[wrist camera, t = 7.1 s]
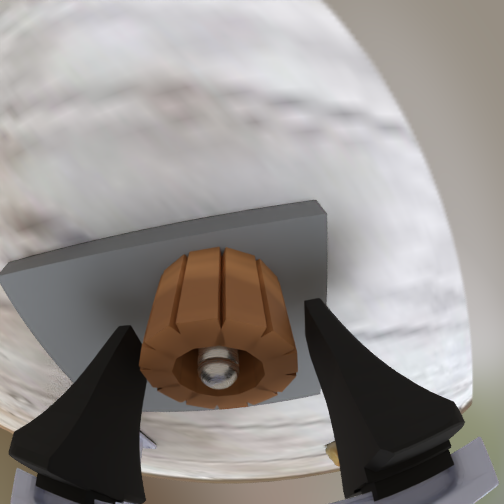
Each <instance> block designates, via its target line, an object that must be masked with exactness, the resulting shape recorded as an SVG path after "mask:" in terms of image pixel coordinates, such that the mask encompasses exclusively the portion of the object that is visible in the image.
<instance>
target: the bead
mask: <svg viewBox="0 0 504 504" xmlns="http://www.w3.org/2000/svg"><path fill="white" fill-rule="evenodd" d="M213 346H224V347H229V348H234V349H238V357H239V375H238V378H237V380H236V381H235V382H234V383H233V384H232V385H231V386H229V387H228V388H225V389H213V388H210V387H208V386H206V385H205V384H204V383H203V382H202V381H201V379H200V378H199V375H198V371H197V367H198V350H199V348H204V347H213ZM139 366H140V367H141V368H140V371H141V372H142V374H143V375H144V376H145V378H146V379H147V380H148V382H149V383H150V384H151V386H152V387H153V388H157V391H158V392H160V393H162V394H164V395H166V396H168V397H170V398H172V399H174V400H176V401H178V402H180V403H181V402H184V401H186V405H191V406H197V407H202V408H209V409H215V407H216V406H217V405H218V407H219V409H231V408H240V407H248V403H250V404H252V405H255V404H258V403H260V402H263V401H265V400H267V399H270V398H272V397H274V396H277V395H278V393H277V392H283V390H284V389H285V388H286V387H287V386H288V385H289V384H290V383H291V382H292V380H293V379H294V378H295V377H296V372H298V357H297V349H296V345H295V341H294V337H293V333H292V329H291V325H290V321H289V317H288V314H287V310H286V306H285V302H284V298H283V294H282V290H281V286H280V283H279V281H278V278H277V276H276V275H275V274H274V273H273V272H272V271H271V270H270V269H269V268H268V267H267V266H266V265H265V264H264V263H263V261H262V260H261V259H258V260H257V261H256V260H255V256H254V255H251V254H248V253H244V252H241V251H238V250H234V249H231V248H228V247H226V248H225V250H224V253H223V255H221V251H220V247H214V248H208V249H202V250H197V251H191V252H189V256H188V257H187V256H186V255H182V256H181V257H180V258H179V259H177V260H176V261H175V262H174V263H173V264H171V265H170V266H169V267H168V268H167V269H165V270H164V273H163V275H161V278H160V281H159V285H158V288H157V292H156V295H155V298H154V302H153V305H152V309H151V313H150V316H149V320H148V324H147V328H146V331H145V335H144V339H143V343H142V348H141V354H140V361H139Z"/></svg>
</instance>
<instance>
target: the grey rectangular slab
mask: <svg viewBox="0 0 504 504" xmlns="http://www.w3.org/2000/svg"><path fill="white" fill-rule="evenodd" d="M214 247H220V251H221V255H223V253H224V250H225V248H226V247H228V248H231V249H234V250H238V251H241V252H244V253H248V254H251V255H254V256H255V260H256V261H257V260H258V259H261V260H262V261H263V263H264V264H265V265H266V266H267V267H268V268H269V269H270V270H271V271H272V272H273V273H274V274H275V275H276V276H277V278H278V281H279V283H280V286H281V290H282V294H283V298H284V302H285V306H286V310H287V314H288V317H289V321H290V325H291V329H292V333H293V337H294V341H295V345H296V349H297V357H298V372H296V377H295V378H294V379H293V380H292V382H291V383H290V384H289V385H288V386H287V387H286V388H285V389H284V390H283V392H277V393H278V395H277V396H274V397H272V398H270V399H267V400H265V401H263V402H260V403H258V404H255V405H263V404H269V403H276V402H282V401H288V400H293V399H298V398H304V397H308V396H313V395H318V394H320V390H321V386H320V383H319V380H318V378H317V375H316V372H315V369H314V366H313V364H312V361H311V358H310V354H309V350H308V346H307V341H306V337H305V314H304V301H305V300H310V299H316V298H320V299H322V301H323V302H324V303H325V304H326V299H327V213H326V212H325V211H324V209H323V208H322V207H321V206H320V204H319V203H318V202H317V201H316V200H313V201H306V202H299V203H292V204H285V205H279V206H272V207H266V208H260V209H253V210H247V211H241V212H235V213H230V214H224V215H218V216H213V217H207V218H202V219H196V220H191V221H186V222H180V223H175V224H170V225H165V226H160V227H155V228H150V229H145V230H141V231H136V232H131V233H127V234H122V235H117V236H113V237H109V238H104V239H100V240H95V241H91V242H87V243H83V244H78V245H74V246H70V247H66V248H62V249H58V250H54V251H50V252H46V253H43V254H39V255H35V256H31V257H28V258H24V259H20V260H17V261H13V262H9V263H8V264H7V265H6V266H5V267H4V268H3V270H2V271H1V272H0V284H1V286H2V288H3V289H4V291H5V293H6V294H7V296H8V298H9V299H10V301H11V303H12V304H13V306H14V307H15V309H16V310H17V312H18V313H19V315H20V316H21V318H22V319H23V321H24V322H25V324H26V325H27V327H28V328H29V329H30V331H31V332H32V333H33V335H34V336H35V338H36V339H37V340H38V341H39V343H40V344H41V345H42V347H43V348H44V349H45V350H46V352H47V353H48V354H49V355H50V357H51V358H52V359H53V360H54V361H55V363H56V364H57V365H58V366H59V367H60V368H61V370H62V371H63V372H64V373H65V374H66V375H67V376H68V377H69V378H70V380H71V381H72V382H73V383H74V382H75V381H76V380H77V379H78V378H79V376H80V375H81V374H82V373H83V371H84V370H85V369H86V368H87V367H88V365H89V364H90V363H91V362H92V360H93V359H94V358H95V356H96V355H97V354H98V352H99V351H100V350H101V348H102V347H103V346H104V344H105V343H106V342H107V340H108V339H109V338H110V336H111V335H112V334H113V333H114V331H115V330H116V329H117V328H118V327H119V326H124V325H131V326H132V328H133V329H134V331H135V333H136V335H137V336H138V338H139V340H140V341H141V343H143V339H144V335H145V331H146V328H147V324H148V320H149V316H150V313H151V309H152V305H153V302H154V298H155V295H156V292H157V288H158V285H159V281H160V278H161V275H163V273H164V270H165V269H167V268H168V267H169V266H170V265H171V264H173V263H174V262H175V261H176V260H177V259H179V258H180V257H181V256H182V255H186V256H187V257H188V256H189V252H191V251H197V250H202V249H208V248H214ZM255 405H252V404H250V403H248V406H255ZM217 409H219V407H218V405H217V406H216V407H215V409H209V408H202V407H197V406H191V405H186V401H184V402H181V403H180V402H178V401H176V400H174V399H172V398H170V397H168V396H166V395H164V394H162V393H160V392H158V391H157V388H153V387H152V386H151V384H150V383H149V382H148V380H147V384H146V390H145V396H144V401H143V407H142V411H144V412H179V411H203V410H217Z"/></svg>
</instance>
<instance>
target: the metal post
mask: <svg viewBox="0 0 504 504" xmlns="http://www.w3.org/2000/svg"><path fill="white" fill-rule="evenodd" d="M197 371H198V375H199V378H200V379H201V381H202V382H203V383H204V384H205V385H206V386H208V387H210V388H213V389H225V388H228V387H229V386H231V385H232V384H233V383H234V382H235V381H236V380H237V378H238V375H239V357H238V349H234V348H229V347H224V346H213V347H204V348H199V350H198V367H197Z"/></svg>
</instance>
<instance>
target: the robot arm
mask: <svg viewBox="0 0 504 504" xmlns="http://www.w3.org/2000/svg"><path fill="white" fill-rule="evenodd" d="M304 314H305V337H306V341H307V346H308V350H309V354H310V358H311V361H312V364H313V366H314V369H315V372H316V375H317V378H318V380H319V383H320V386H321V389H322V392H323V394H324V397H325V400H326V403H327V407H328V410H329V415H330V419H331V423H332V428H333V433H334V438H335V443H336V448H337V453H338V459H339V464H340V471H341V477H342V484H343V492H344V495H345V500H341V501H338V502H334V503H329V504H474V503H475V502H477V501H478V500H479V499H481V498H482V497H483V496H485V495H486V494H487V493H489V492H490V491H491V490H493V489H494V488H495V487H496V486H498V484H499V482H498V479H497V476H496V473H495V471H494V468H493V465H492V463H491V460H490V458H489V455H488V453H487V450H486V448H485V445H484V443H483V441H482V439H481V437H478V438H476V439H475V440H473V441H471V442H470V443H468V444H467V445H465V446H464V447H462V448H460V449H459V450H457V451H455V452H454V453H452V454H450V452H449V450H448V449H450V448H451V444H450V441H449V439H450V438H451V437H452V436H453V435H454V434H456V433H457V432H458V431H459V430H460V429H461V428H462V427H463V425H464V423H465V421H464V419H463V417H462V415H461V413H460V411H459V409H458V407H457V406H456V404H455V403H454V402H453V401H451V400H448V399H446V398H444V397H441V396H439V395H437V394H435V393H432V392H430V391H428V390H427V389H425V388H423V387H421V386H419V385H417V384H416V383H414V382H412V381H411V380H409V379H408V378H406V377H404V376H403V375H401V374H399V373H398V372H396V371H395V370H394V369H392V368H391V367H389V366H388V365H387V364H385V363H384V362H383V361H382V360H380V359H379V358H378V357H376V356H375V355H374V354H373V353H372V352H371V351H369V350H368V349H367V348H366V347H365V346H364V345H363V344H362V343H361V342H360V341H358V340H357V339H356V338H355V337H354V336H353V335H352V334H351V333H350V332H349V330H348V329H347V328H346V327H345V326H344V325H343V324H342V323H341V322H340V321H339V320H338V319H337V318H336V316H335V315H334V314H333V313H332V312H331V311H330V309H329V308H328V307H327V306H326V304H325V303H324V302H323V301H322V299H320V298H316V299H310V300H305V301H304ZM141 348H142V343H141V341H140V340H139V338H138V336H137V335H136V333H135V331H134V329H133V328H132V326H131V325H124V326H119V327H118V328H117V329H116V330H115V331H114V333H113V334H112V335H111V336H110V338H109V339H108V340H107V342H106V343H105V344H104V346H103V347H102V348H101V350H100V351H99V352H98V354H97V355H96V356H95V358H94V359H93V360H92V362H91V363H90V364H89V365H88V367H87V368H86V369H85V370H84V371H83V373H82V374H81V375H80V376H79V378H78V379H77V380H76V381H75V382H74V384H73V385H72V386H71V387H70V388H69V389H68V390H67V391H66V392H65V393H64V394H63V395H62V396H61V397H60V398H59V399H58V400H57V401H56V402H55V403H54V404H52V405H51V406H50V407H49V408H48V409H47V410H46V411H44V412H43V413H42V414H41V415H39V416H38V417H37V418H35V419H34V420H32V421H31V422H30V423H28V424H26V425H25V426H23V427H21V428H20V429H18V430H16V431H15V432H14V434H13V438H12V442H11V446H10V449H9V455H10V456H11V457H12V458H14V459H15V460H17V461H18V462H20V463H21V464H23V465H25V466H27V467H28V468H30V469H32V470H33V471H35V472H37V473H38V475H37V477H35V476H33V475H31V474H29V473H27V472H25V471H23V470H21V469H19V468H17V470H16V474H15V480H14V485H13V490H12V497H11V504H142V503H144V502H145V501H146V498H145V493H144V487H143V482H142V474H141V457H142V448H149V449H156V447H157V446H156V445H155V444H154V443H153V442H152V441H150V440H149V439H148V438H147V437H145V436H144V435H143V434H142V433H141V432H140V420H141V413H142V407H143V401H144V396H145V390H146V384H147V379H146V378H145V376H144V375H143V374H142V372H141V371H140V368H141V367H140V366H139V361H140V354H141ZM361 494H362V495H361ZM358 495H359V496H358ZM354 496H355V497H354ZM351 497H352V498H351ZM348 498H349V499H348Z"/></svg>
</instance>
